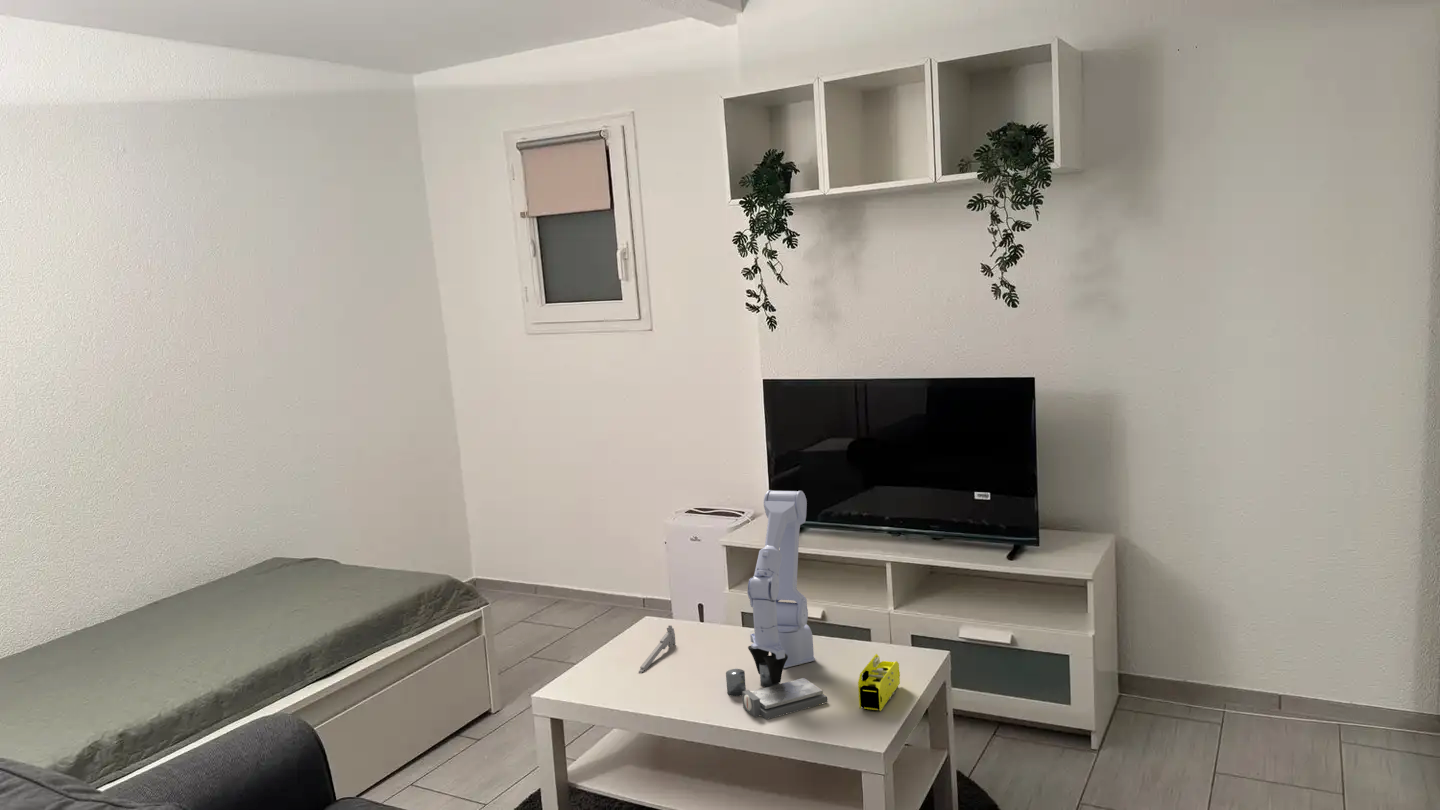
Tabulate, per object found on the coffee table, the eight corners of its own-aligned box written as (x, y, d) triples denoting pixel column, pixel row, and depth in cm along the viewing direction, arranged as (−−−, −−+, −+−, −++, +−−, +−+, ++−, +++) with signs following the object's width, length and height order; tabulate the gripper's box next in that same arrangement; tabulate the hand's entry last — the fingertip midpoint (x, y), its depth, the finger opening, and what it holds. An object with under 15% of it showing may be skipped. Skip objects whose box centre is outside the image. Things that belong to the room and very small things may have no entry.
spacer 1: (741, 687, 254) (739, 667, 253) (749, 693, 250) (747, 673, 249) (724, 691, 252) (722, 671, 252) (732, 697, 248) (730, 677, 248)
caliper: (672, 645, 286) (670, 623, 286) (675, 645, 286) (674, 623, 285) (638, 674, 268) (636, 650, 267) (642, 674, 267) (640, 650, 267)
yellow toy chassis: (878, 684, 250) (876, 650, 249) (901, 686, 248) (899, 652, 247) (857, 711, 236) (855, 676, 235) (882, 714, 233) (880, 679, 232)
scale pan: (803, 681, 250) (803, 677, 250) (823, 693, 242) (822, 690, 242) (747, 695, 244) (747, 692, 244) (765, 709, 236) (765, 705, 236)
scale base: (804, 686, 251) (803, 670, 251) (827, 702, 241) (826, 685, 241) (737, 704, 244) (736, 687, 244) (758, 721, 234) (757, 703, 234)
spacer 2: (773, 678, 258) (772, 659, 257) (782, 684, 254) (780, 665, 253) (757, 682, 256) (756, 663, 255) (765, 689, 252) (764, 669, 251)
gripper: (737, 619, 258) (741, 672, 260) (764, 636, 245) (768, 691, 246) (763, 613, 261) (766, 665, 262) (791, 630, 247) (794, 685, 249)
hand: (769, 678), depth 255 cm, fingers open, 6 cm apart
